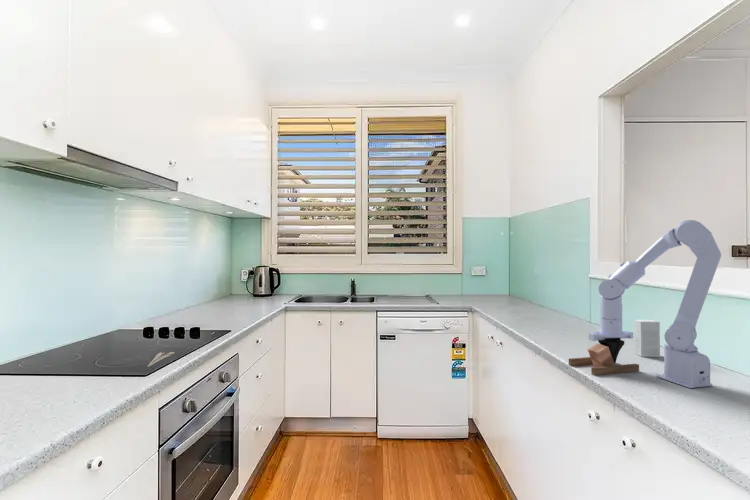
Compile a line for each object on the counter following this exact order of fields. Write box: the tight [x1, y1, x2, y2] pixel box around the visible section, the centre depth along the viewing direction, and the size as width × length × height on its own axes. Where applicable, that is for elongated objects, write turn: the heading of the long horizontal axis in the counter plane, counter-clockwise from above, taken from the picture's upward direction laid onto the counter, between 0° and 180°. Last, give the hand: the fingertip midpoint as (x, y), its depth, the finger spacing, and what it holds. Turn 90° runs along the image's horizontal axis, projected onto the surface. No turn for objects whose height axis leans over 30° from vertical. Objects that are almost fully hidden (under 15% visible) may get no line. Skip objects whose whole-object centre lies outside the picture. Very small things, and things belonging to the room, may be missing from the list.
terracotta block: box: [587, 342, 614, 367], centre depth 115 cm, size 4×4×6 cm
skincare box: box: [633, 319, 661, 358], centre depth 129 cm, size 6×4×12 cm
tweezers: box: [147, 351, 175, 368], centre depth 121 cm, size 18×5×2 cm, turn 6°
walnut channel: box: [568, 356, 640, 376], centre depth 115 cm, size 10×16×2 cm, turn 104°
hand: (610, 362), depth 116 cm, fingers closed
